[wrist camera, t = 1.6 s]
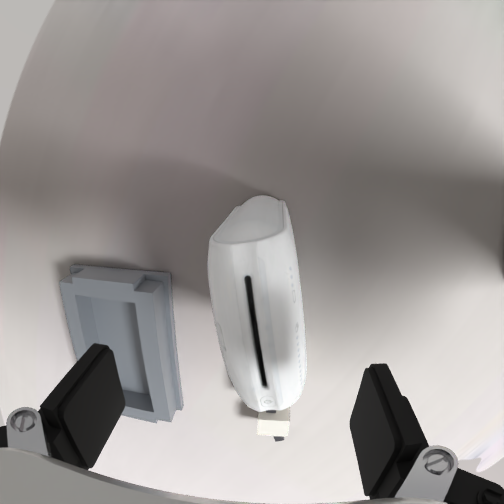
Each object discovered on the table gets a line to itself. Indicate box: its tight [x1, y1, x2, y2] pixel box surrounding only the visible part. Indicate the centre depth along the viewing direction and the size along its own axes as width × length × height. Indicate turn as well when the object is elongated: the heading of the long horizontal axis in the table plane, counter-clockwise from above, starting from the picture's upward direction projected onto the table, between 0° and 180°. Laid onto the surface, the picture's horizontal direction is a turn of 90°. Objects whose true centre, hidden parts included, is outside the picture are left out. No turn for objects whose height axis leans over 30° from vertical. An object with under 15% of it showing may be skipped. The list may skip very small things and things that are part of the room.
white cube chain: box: [248, 406, 290, 441], centre depth 27 cm, size 4×13×2 cm, turn 178°
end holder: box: [59, 264, 184, 423], centre depth 27 cm, size 10×15×3 cm, turn 178°
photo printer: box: [207, 195, 307, 412], centre depth 19 cm, size 10×4×12 cm, turn 8°
